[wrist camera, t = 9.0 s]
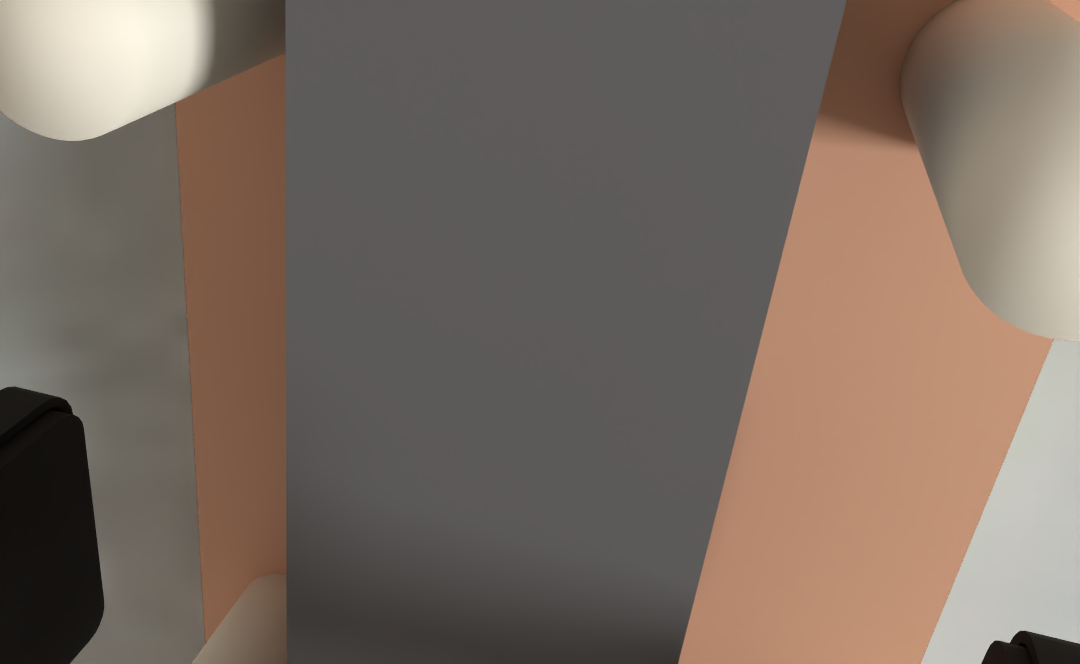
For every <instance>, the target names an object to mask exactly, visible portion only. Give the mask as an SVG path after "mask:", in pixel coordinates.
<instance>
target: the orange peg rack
mask: <svg viewBox="0 0 1080 664" xmlns="http://www.w3.org/2000/svg"><path fill="white" fill-rule="evenodd" d="M173 103H175V112H176V130H177V148H178V165H179V183H180V201H181V219H182V237H183V255H184V273H185V291H186V308H187V326H188V344H189V362H190V380H191V398H192V416H193V434H194V451H195V469H196V487H197V505H198V523H199V541H200V559H201V577H202V594H203V612H204V630H205V645H204V647H203V648H202V650H201V651H200V652H199V654H198V655H197V656H196V658H195V659H194V661H193V662H192V663H191V664H287V582H286V40H285V0H0V111H1V112H2V113H3V114H4V115H5V116H7V117H8V118H10V119H11V120H13V121H14V122H15V123H17V124H19V125H20V126H22V127H24V128H26V129H28V130H30V131H32V132H34V133H37V134H39V135H42V136H45V137H49V138H53V139H57V140H65V141H81V140H87V139H92V138H95V137H98V136H101V135H104V134H106V133H108V132H110V131H113V130H115V129H117V128H119V127H122V126H124V125H126V124H128V123H131V122H133V121H135V120H137V119H139V118H142V117H144V116H146V115H148V114H151V113H153V112H155V111H157V110H160V109H162V108H164V107H166V106H169V105H171V104H173ZM1054 339H1057V340H1064V341H1080V0H847V1H846V5H845V9H844V13H843V17H842V21H841V25H840V29H839V33H838V37H837V41H836V45H835V49H834V53H833V57H832V60H831V64H830V68H829V72H828V76H827V80H826V84H825V88H824V92H823V96H822V100H821V104H820V108H819V112H818V116H817V119H816V123H815V127H814V131H813V135H812V139H811V143H810V147H809V151H808V155H807V159H806V163H805V167H804V171H803V175H802V178H801V182H800V186H799V190H798V194H797V198H796V202H795V206H794V210H793V214H792V218H791V222H790V226H789V230H788V234H787V237H786V241H785V245H784V249H783V253H782V257H781V261H780V265H779V269H778V273H777V277H776V281H775V285H774V289H773V293H772V296H771V300H770V304H769V308H768V312H767V316H766V320H765V324H764V328H763V332H762V336H761V340H760V344H759V348H758V351H757V355H756V359H755V363H754V367H753V371H752V375H751V379H750V383H749V387H748V391H747V395H746V399H745V403H744V407H743V410H742V414H741V418H740V422H739V426H738V430H737V434H736V438H735V442H734V446H733V450H732V454H731V458H730V462H729V466H728V469H727V473H726V477H725V481H724V485H723V489H722V493H721V497H720V501H719V505H718V509H717V513H716V517H715V521H714V525H713V528H712V532H711V536H710V540H709V544H708V548H707V552H706V556H705V560H704V564H703V568H702V572H701V576H700V580H699V584H698V587H697V591H696V595H695V599H694V603H693V607H692V611H691V615H690V619H689V623H688V627H687V631H686V635H685V639H684V643H683V646H682V650H681V654H680V658H679V662H678V664H921V661H922V659H923V656H924V654H925V651H926V649H927V647H928V644H929V642H930V639H931V637H932V634H933V632H934V630H935V627H936V625H937V622H938V620H939V617H940V615H941V613H942V610H943V608H944V605H945V603H946V600H947V598H948V595H949V593H950V591H951V588H952V586H953V583H954V581H955V578H956V576H957V574H958V571H959V569H960V566H961V564H962V561H963V559H964V557H965V554H966V552H967V549H968V547H969V544H970V542H971V540H972V537H973V535H974V532H975V530H976V527H977V525H978V522H979V520H980V518H981V515H982V513H983V510H984V508H985V505H986V503H987V501H988V498H989V496H990V493H991V491H992V488H993V486H994V484H995V481H996V479H997V476H998V474H999V471H1000V469H1001V466H1002V464H1003V462H1004V459H1005V457H1006V454H1007V452H1008V449H1009V447H1010V445H1011V442H1012V440H1013V437H1014V435H1015V432H1016V430H1017V428H1018V425H1019V423H1020V420H1021V418H1022V415H1023V413H1024V411H1025V408H1026V406H1027V403H1028V401H1029V398H1030V396H1031V393H1032V391H1033V389H1034V386H1035V384H1036V381H1037V379H1038V376H1039V374H1040V372H1041V369H1042V367H1043V364H1044V362H1045V359H1046V357H1047V355H1048V352H1049V350H1050V347H1051V345H1052V342H1053V340H1054Z"/></svg>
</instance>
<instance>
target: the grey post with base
mask: <svg viewBox="0 0 1080 664" xmlns="http://www.w3.org/2000/svg"><path fill="white" fill-rule="evenodd" d="M846 1H847V0H285V40H286V582H287V664H678V662H679V658H680V654H681V650H682V646H683V643H684V639H685V635H686V631H687V627H688V623H689V619H690V615H691V611H692V607H693V603H694V599H695V595H696V591H697V587H698V584H699V580H700V576H701V572H702V568H703V564H704V560H705V556H706V552H707V548H708V544H709V540H710V536H711V532H712V528H713V525H714V521H715V517H716V513H717V509H718V505H719V501H720V497H721V493H722V489H723V485H724V481H725V477H726V473H727V469H728V466H729V462H730V458H731V454H732V450H733V446H734V442H735V438H736V434H737V430H738V426H739V422H740V418H741V414H742V410H743V407H744V403H745V399H746V395H747V391H748V387H749V383H750V379H751V375H752V371H753V367H754V363H755V359H756V355H757V351H758V348H759V344H760V340H761V336H762V332H763V328H764V324H765V320H766V316H767V312H768V308H769V304H770V300H771V296H772V293H773V289H774V285H775V281H776V277H777V273H778V269H779V265H780V261H781V257H782V253H783V249H784V245H785V241H786V237H787V234H788V230H789V226H790V222H791V218H792V214H793V210H794V206H795V202H796V198H797V194H798V190H799V186H800V182H801V178H802V175H803V171H804V167H805V163H806V159H807V155H808V151H809V147H810V143H811V139H812V135H813V131H814V127H815V123H816V119H817V116H818V112H819V108H820V104H821V100H822V96H823V92H824V88H825V84H826V80H827V76H828V72H829V68H830V64H831V60H832V57H833V53H834V49H835V45H836V41H837V37H838V33H839V29H840V25H841V21H842V17H843V13H844V9H845V5H846Z"/></svg>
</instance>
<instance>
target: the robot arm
mask: <svg viewBox="0 0 1080 664" xmlns="http://www.w3.org/2000/svg"><path fill="white" fill-rule="evenodd" d="M103 612H104V596H103V588H102V579H101V571H100V562H99V554H98V545H97V537H96V528H95V520H94V511H93V503H92V494H91V486H90V477H89V469H88V460H87V452H86V444H85V435H84V428H83V424H82V421H81V420H80V419H79V417H77V416H75V415H73V412H72V409H71V406H70V405H69V403H68V402H67V401H66V400H64V399H62V398H60V397H56V396H52V395H48V394H43V393H39V392H35V391H31V390H27V389H23V388H19V387H6V388H4V389H2V390H0V664H70V663H71V661H72V660H73V659H74V658H75V657H76V656H77V655H78V653H79V652H80V651H81V650H82V649H83V648H84V647H85V645H86V644H87V643H88V642H89V641H90V640H91V638H92V637H93V635H94V634H95V633H96V631H97V629H98V627H99V625H100V622H101V619H102V617H103ZM982 664H1080V644H1078V643H1074V642H1069V641H1065V640H1061V639H1057V638H1053V637H1049V636H1045V635H1040V634H1036V633H1032V632H1028V631H1019V632H1018V633H1017V634H1016V635H1015V636H1014V637H1013V639H1012V640H1011V642H1010V643H1006V642H1002V641H994V642H993V643H992V644H991V645H990V647H989V649H988V650H987V653H986V655H985V657H984V659H983V661H982Z"/></svg>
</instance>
